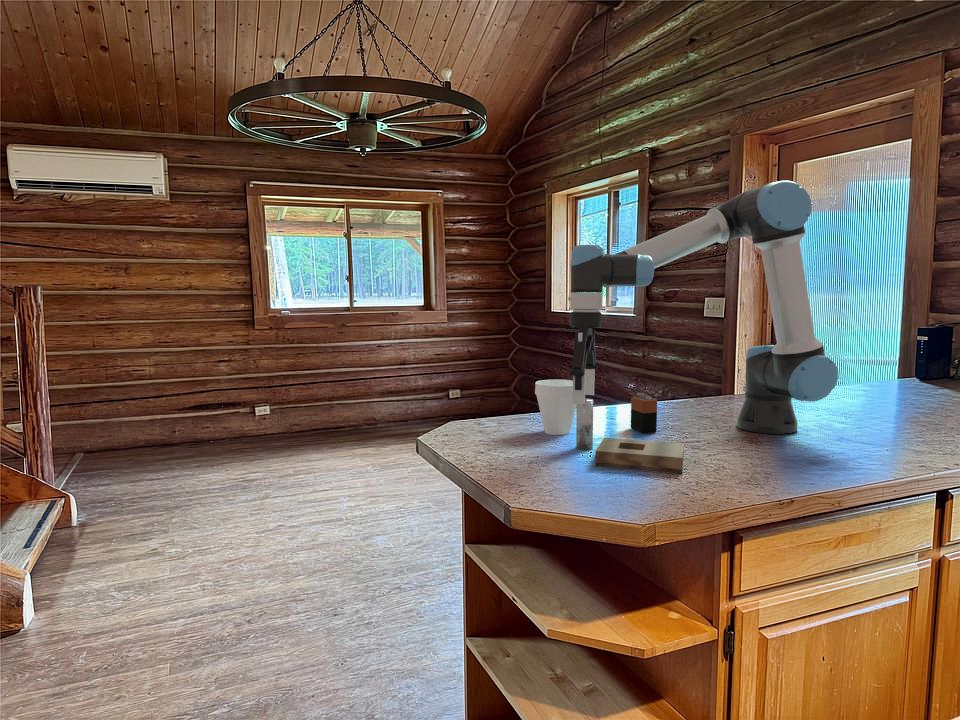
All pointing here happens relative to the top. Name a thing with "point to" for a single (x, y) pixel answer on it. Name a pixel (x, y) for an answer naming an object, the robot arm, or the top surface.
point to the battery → (643, 413)
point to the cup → (556, 405)
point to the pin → (584, 425)
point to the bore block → (640, 455)
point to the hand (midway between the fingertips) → (583, 399)
